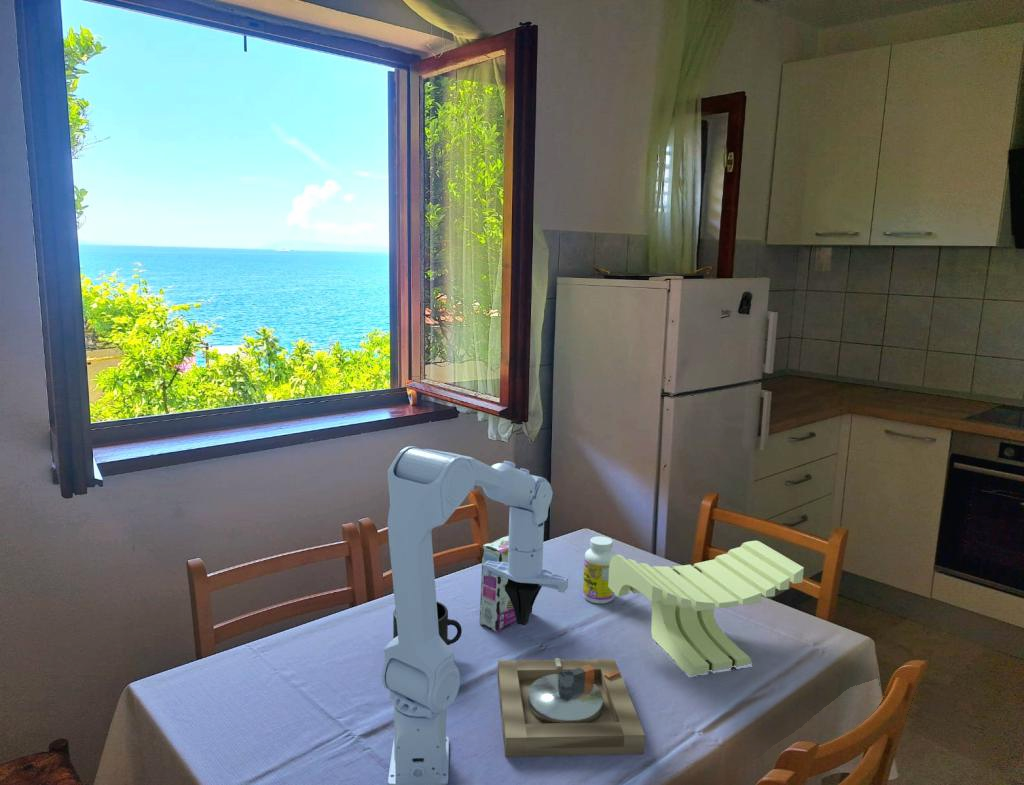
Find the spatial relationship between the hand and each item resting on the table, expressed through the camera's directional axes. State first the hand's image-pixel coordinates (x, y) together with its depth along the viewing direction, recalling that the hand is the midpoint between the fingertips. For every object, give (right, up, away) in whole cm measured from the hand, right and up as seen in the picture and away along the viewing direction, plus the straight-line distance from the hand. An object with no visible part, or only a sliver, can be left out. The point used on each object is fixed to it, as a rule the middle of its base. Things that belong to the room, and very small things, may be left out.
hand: (522, 622), depth 119 cm
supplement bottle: (+16, -5, +32) cm, 36 cm away
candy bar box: (-3, -6, +21) cm, 22 cm away
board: (+6, -12, -8) cm, 15 cm away
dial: (+6, -10, -8) cm, 14 cm away
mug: (-17, -9, +6) cm, 20 cm away
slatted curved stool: (+32, -9, +13) cm, 36 cm away
